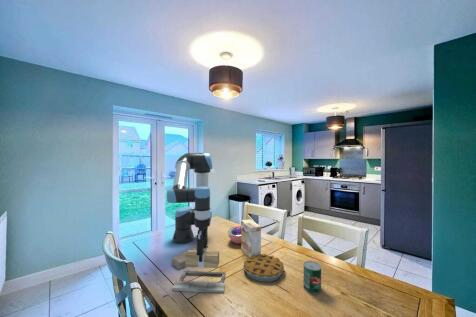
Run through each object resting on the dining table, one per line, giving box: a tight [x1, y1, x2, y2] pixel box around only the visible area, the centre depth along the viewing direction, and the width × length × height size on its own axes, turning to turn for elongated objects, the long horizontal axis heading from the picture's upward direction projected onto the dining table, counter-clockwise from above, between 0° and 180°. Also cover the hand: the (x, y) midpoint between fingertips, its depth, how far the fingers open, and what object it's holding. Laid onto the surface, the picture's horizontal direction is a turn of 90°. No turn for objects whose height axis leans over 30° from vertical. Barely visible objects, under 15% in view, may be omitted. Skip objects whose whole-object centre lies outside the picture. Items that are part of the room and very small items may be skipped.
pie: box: [242, 253, 285, 283], centre depth 109 cm, size 22×22×5 cm
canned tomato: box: [303, 260, 322, 295], centre depth 94 cm, size 8×8×11 cm
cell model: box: [226, 225, 241, 245], centre depth 146 cm, size 17×20×11 cm
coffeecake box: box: [240, 219, 262, 258], centre depth 128 cm, size 15×7×20 cm, turn 23°
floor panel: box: [171, 270, 226, 294], centre depth 99 cm, size 14×24×1 cm, turn 86°
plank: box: [184, 249, 220, 269], centre depth 101 cm, size 5×16×6 cm, turn 86°
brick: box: [171, 247, 197, 270], centre depth 119 cm, size 17×8×5 cm, turn 141°
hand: (202, 264), depth 101 cm, fingers closed on plank, 5 cm apart
